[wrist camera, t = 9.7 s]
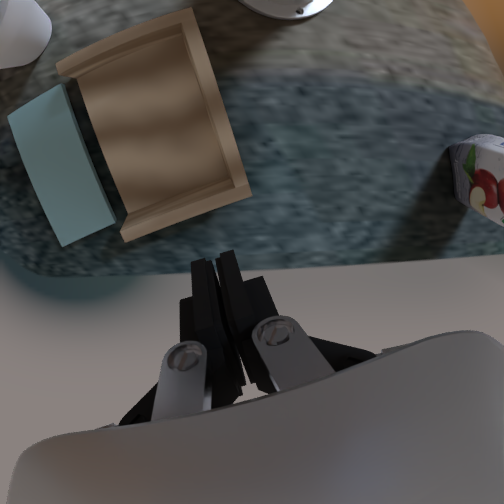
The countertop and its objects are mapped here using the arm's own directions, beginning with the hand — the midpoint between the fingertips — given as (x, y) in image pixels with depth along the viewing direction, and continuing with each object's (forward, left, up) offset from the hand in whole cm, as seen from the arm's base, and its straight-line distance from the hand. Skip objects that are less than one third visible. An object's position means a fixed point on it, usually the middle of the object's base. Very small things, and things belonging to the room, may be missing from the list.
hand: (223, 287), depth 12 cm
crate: (-6, -2, -23) cm, 24 cm away
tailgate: (-6, -10, -22) cm, 25 cm away
